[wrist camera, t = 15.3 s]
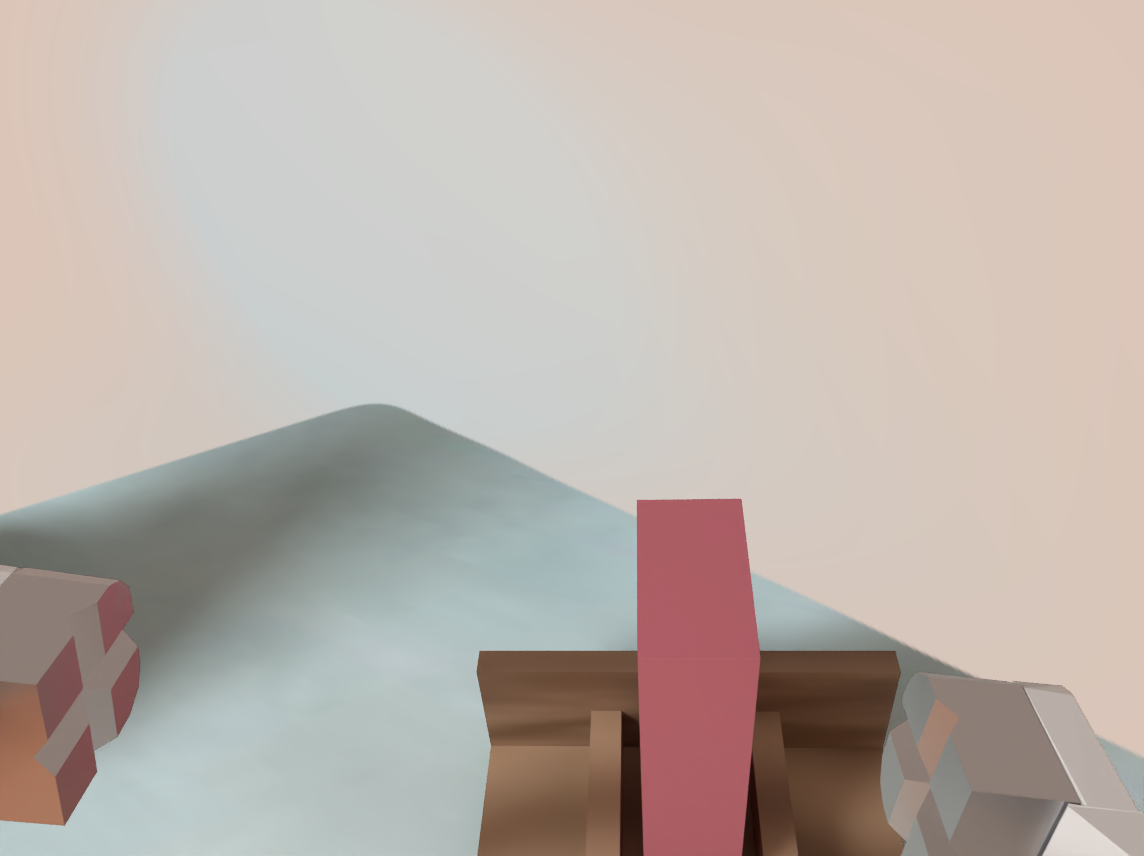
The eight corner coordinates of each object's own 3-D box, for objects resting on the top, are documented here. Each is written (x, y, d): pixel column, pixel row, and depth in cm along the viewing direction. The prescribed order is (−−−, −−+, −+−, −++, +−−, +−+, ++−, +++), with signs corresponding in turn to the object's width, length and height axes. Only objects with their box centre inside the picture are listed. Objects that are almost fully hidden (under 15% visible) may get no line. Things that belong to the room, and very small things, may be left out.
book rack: (927, 1000, 34) (961, 916, 30) (467, 988, 36) (442, 906, 32) (873, 743, 42) (895, 651, 38) (496, 741, 43) (479, 650, 39)
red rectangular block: (735, 921, 36) (760, 657, 26) (645, 919, 36) (637, 657, 26) (723, 769, 40) (741, 498, 31) (644, 768, 40) (636, 500, 31)
